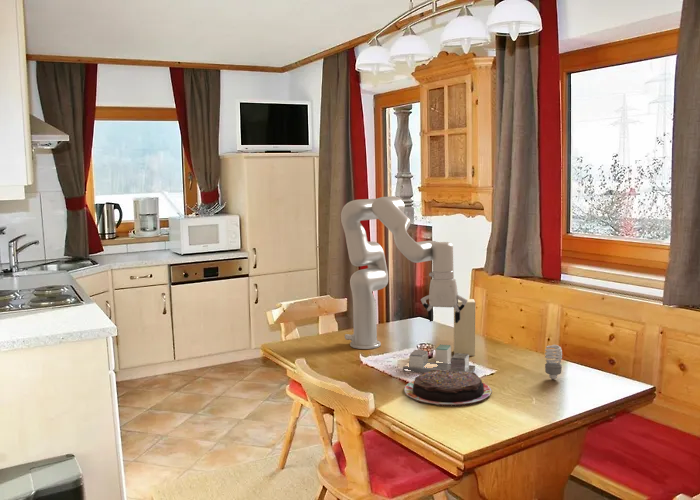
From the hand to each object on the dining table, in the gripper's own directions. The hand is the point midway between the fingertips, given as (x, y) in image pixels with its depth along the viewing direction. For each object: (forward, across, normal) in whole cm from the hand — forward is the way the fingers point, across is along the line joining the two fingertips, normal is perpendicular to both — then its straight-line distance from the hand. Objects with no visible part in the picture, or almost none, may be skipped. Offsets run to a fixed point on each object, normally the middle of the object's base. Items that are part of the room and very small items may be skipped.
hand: (444, 321), depth 245 cm
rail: (+16, 0, -11) cm, 19 cm away
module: (+16, -1, 0) cm, 16 cm away
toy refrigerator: (+16, +4, +14) cm, 22 cm away
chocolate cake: (+16, +8, -33) cm, 38 cm away
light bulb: (+16, +39, -10) cm, 44 cm away
